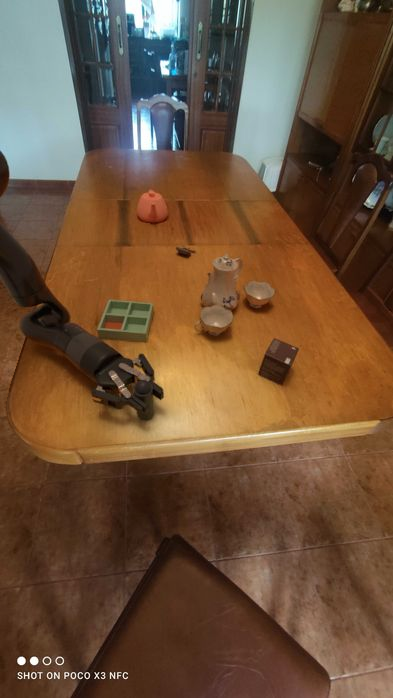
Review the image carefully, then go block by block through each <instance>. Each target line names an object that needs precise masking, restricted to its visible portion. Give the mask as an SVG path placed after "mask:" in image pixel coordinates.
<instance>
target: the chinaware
mask: <svg viewBox="0 0 393 698" xmlns="http://www.w3.org/2000/svg"><path fill="white" fill-rule="evenodd" d="M212 265H213V273H212V272H207V273H206V275H207V277H208V278H207V282H206V285H205V288H204V290H203V292H202V293H201V295H200V300H201V305H202V306H203V307H202V308H201V310H200V313H199V320H197V321H196V322H195V323H194V325H193V327H194V330H195V331H197V332H200V331H202V330H203V332H204V333H208V334H209V335H210V336H216V337H218V336H219V335H221V333H223V332H225V331H226V330H227V329H228V327H230V326H231V325H232V324H233V319H234V312H233V311H234V309H236V308H237V306H238V302H239V301H240V298H241V297H240V296H241V295H240V293H239V292H238V290H237V288H236V284H237V283H238V279H237V278H238V277H239V276H240V273H241V271H242V269H243V260H242V259H241V258H239V257H236V258H231V257H230V255H229V254H228V253H225V254H224V255H223V256H218V257H217V258H214V259H213V260H212ZM237 268H238V269H237ZM236 270H237V271H236ZM235 272H236V273H235ZM243 291H244V292H245V296H246V299H247V302H249V307H252V308H254V309H261V308H262V306H265V305H266V304H268V302H269V301H270V300H271V298H273V297H274V295H276V290H275V289H274V288H273V287H272V285H271V284H269V283H268V282H266V281H257V280H250V281H249V282H248V283H246V284H245V285H244V286H243ZM198 324H200V325H201V324H202V326H203V327H202V328H199V329H198V328H196V327H197V325H198Z"/></svg>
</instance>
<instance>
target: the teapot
mask: <svg viewBox="0 0 393 698" xmlns="http://www.w3.org/2000/svg"><path fill="white" fill-rule="evenodd" d="M168 211H169V210H168V206H167V203H166V201H165V199H164V197H163V196H162V195H161V193H157V192H155V191H154V190H153V189H149V190H148V192H145V193H143V194H141V196H140V198H139V200H138V202H137V206H136V215H137V216H138V218H139V219H140V220H141V221H142V222H145V223H161V222H163V221H165V219H167V217H168V214H169V212H168Z"/></svg>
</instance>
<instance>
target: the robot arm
mask: <svg viewBox="0 0 393 698" xmlns="http://www.w3.org/2000/svg"><path fill="white" fill-rule="evenodd" d="M10 175H11V174H10V167H9V163H8V160H7V158H6V156H5V154H4V153H3V152H2V150H0V198H2V196H4V194H5V192H6V191H7V189H8V186H9V182H10V177H11V176H10ZM0 280H1V282H2V283H3V286H4V287H5V288H6V290H7V292H8V293H9V295H10V296H11V298H12V300H13V302H15V304H16V305H17V306H19V307H22V308H32V307H35V308H34V309H32V310H31V311H29V312H28V313H26V314H24V315H23V316H22V317H21V319H20V321H19V328H20V331H21V333H22V334H23V335H24V337H26V338H27V339H28V340H30V342H32V343H35V344H37V345H40V346H43V347H46V348H48V349H52V350H54V351H56V352H58V353H59V354H60V355H62V356H63V357H64V358H66V359H67V360H68V361H69V362H70V363H71V364H72V365H73V366H74V367H75V368H76V369H77V370H78V371H80V372H81V373H83V374H84V375H85V376H86V377H88V378H89V379H90V380H92V381H93V382H94V383H96V385H97V387H96V388H95V389H92V390H91V391H90V395H91V398H92V401H93V402H94V403H97V404H100V405H103V406H106V407H110V408H113V409H116V410H122V409H123V407H125V406H129V407H130V408H132V409H133V410H135V411H137V412H139V413H141V414H142V413H144V414H146V413H147V412H149V408H148V405H147V404H145V403H144V402H143V401H141V400H140V399H139V398H137V397H136V396H135V395H134V394H132V393H131V391H129V389H128V386H130V385H134V386H135V385H136V383H137V382H138V381H140V380H147V381H148V382H149V383H150V384H151V385H152V387H153V397H156V398H157V399H158V400H160V401H162V400H164V398H165V393H164V389H163V387H162V386H160V385H159V384H158V383H156V382H155V379H156V377H155V370H154V368H153V367H152V365H151V363H150V361H149V360H148V359H147V357H146V356H145V354H144V353H138V355H137V356H138V357H136V358H133V359H132V358H129V357H124V355H123V354H121V353H120V352H119V351H117V349H115V348H113V346H111V345H110V344H108V343H106V342H105V341H104V340H103V339H101V338H99V337H97V336H96V335H94V334H92V333H90V332H89V331H87V330H86V329H85V328H83V327H82V326H81V325H79V324H77V323H75V322H71V314H70V311H69V310H68V308H67V307H66V306H65V305H64V304H63V303H62V302H60V300H59V299H58V298H57V297H56V296H55V295H54V294H53V293H52V291H51V290H50V289H49V287H48V285H47V283H46V282H45V280H44V277H43V276H42V273H41V271H40V270H39V268H38V266H37V264H36V262H35V260H34V259H33V257H32V256H31V255H30V254H29V252H28V251H27V250H26V249H25V247H23V245H22V244H21V243H20V242H19V241H18V240H17V239H16V238H15V237H14V235H12V234H11V233H10V231H9V230H8V229H7V228H6V227H5V226H4V223H2V222H1V221H0ZM36 306H37V307H36ZM135 366H136V367H137V368H138V369H136V368H135ZM140 370H142V372H143V373H142V372H141V371H140ZM106 391H108V392H109V391H110V392H115V393H116V395H115V394H112V393H108V392H106ZM137 412H136V413H137Z"/></svg>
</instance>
